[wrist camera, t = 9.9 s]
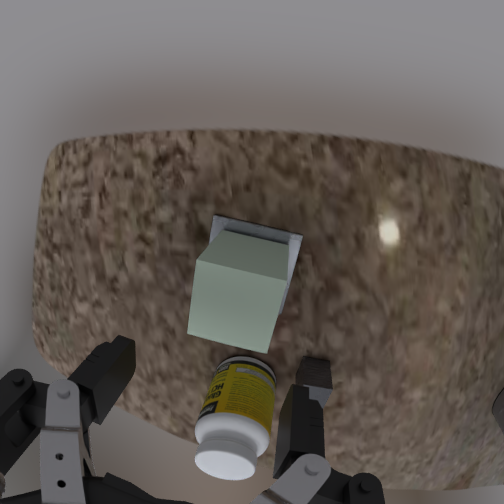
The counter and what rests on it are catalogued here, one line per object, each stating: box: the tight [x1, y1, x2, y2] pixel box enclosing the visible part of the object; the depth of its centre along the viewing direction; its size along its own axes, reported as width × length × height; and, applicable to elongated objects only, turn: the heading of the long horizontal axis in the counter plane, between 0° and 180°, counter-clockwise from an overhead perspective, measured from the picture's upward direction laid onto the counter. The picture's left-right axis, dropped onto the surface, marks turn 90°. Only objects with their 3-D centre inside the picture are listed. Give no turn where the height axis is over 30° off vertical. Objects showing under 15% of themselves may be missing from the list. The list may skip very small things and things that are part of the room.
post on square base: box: [209, 214, 303, 314], centre depth 22 cm, size 7×7×7 cm
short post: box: [296, 356, 333, 409], centre depth 26 cm, size 3×3×4 cm
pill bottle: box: [195, 356, 276, 480], centre depth 24 cm, size 6×6×11 cm
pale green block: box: [187, 230, 289, 354], centre depth 21 cm, size 5×5×7 cm
